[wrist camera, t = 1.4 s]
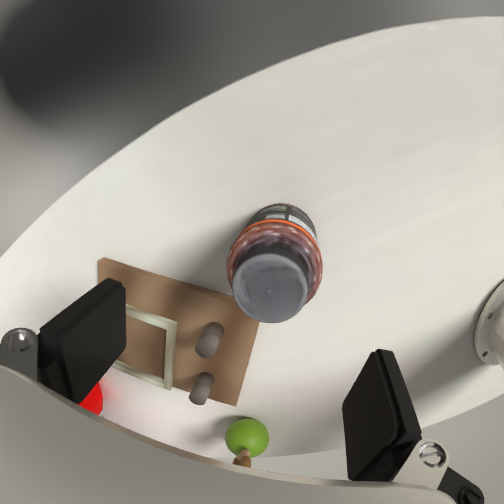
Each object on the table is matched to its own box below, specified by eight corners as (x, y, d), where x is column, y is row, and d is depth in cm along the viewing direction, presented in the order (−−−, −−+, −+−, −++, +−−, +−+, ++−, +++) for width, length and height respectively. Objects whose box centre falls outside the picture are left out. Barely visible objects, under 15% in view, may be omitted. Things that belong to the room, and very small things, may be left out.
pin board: (264, 304, 28) (256, 332, 23) (237, 399, 33) (229, 428, 28) (104, 257, 29) (77, 272, 25) (108, 353, 34) (89, 373, 30)
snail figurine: (224, 430, 35) (201, 499, 24) (237, 405, 33) (213, 483, 22) (260, 441, 35) (245, 512, 24) (277, 417, 33) (264, 497, 21)
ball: (68, 353, 36) (39, 381, 29) (109, 379, 36) (83, 413, 29) (70, 383, 39) (46, 409, 32) (108, 407, 39) (86, 438, 32)
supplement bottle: (270, 279, 27) (249, 354, 16) (235, 223, 26) (189, 270, 15) (328, 247, 25) (345, 311, 15) (294, 188, 24) (288, 212, 14)
